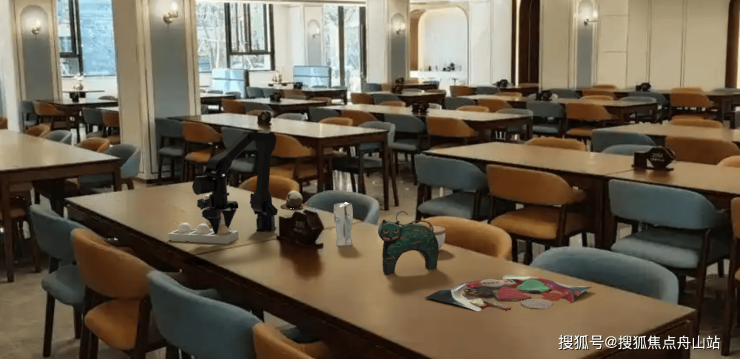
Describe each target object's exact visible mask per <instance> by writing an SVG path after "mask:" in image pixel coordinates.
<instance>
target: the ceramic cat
mask: <svg viewBox="0 0 740 359" xmlns="http://www.w3.org/2000/svg"><path fill="white" fill-rule="evenodd" d="M401 213H403V214H405V215H406V216H408V215H409V213H407V211H405V210H401V211H399V212H397V213H396V217H395V220H396V221H392V220H385V219H383V220H382V221H381V222H380V223H379V225H378V227H377V233H378V234H377V235H378V236H379V238H380V239H381V241H383V244H382V254H381V256H382V272H383V273H384V275H386V276H389V275H394V274H395V271H396V266H397V262H398V260H399V259H400V257H401V256H402V254H403V255H404V253H409V252H411V251H414V252H415V251H416V252H419V253H420V254H422V255H423V256H424V266H425V269H427V271H434V270H437V268H438V260H439V259H438V258H439V251H440V249H439V250H438V248H439V246H438V241H437V239H436V237H435V234H434V233H433V232H434V229H433V226H434V225H432V224H431V223H430V222H429V221H427V220H424V219H417V220H413V221H410V222H409V223H405V224H402V223H400V222H401V221H399V220H398V215H399V214H401ZM417 222H422V223H427V224H428V225H425V224H422V223H417ZM429 225H430V226H431V227H432V229H433V230H431V229H430V228H429V227H427V226H429Z"/></svg>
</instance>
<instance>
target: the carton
mask: <svg viewBox="0 0 740 359" xmlns="http://www.w3.org/2000/svg"><path fill="white" fill-rule="evenodd" d="M210 229H211V227H210V226H208V225H207V223H199V224H198V225H197V226H196V228H192V226H191V224H190V223H188V222H181V223H180V224H179V225H178V226H177V229H175V230H173V231H170V232H169V233H167V236H168V237H167V238H168V240H172V241H171V242H185V241H189V242H188V243H190V242H191V243H204V244H205V243H206V244H207V243H209V244H224V245H225V244H226V245H228V244H230V243H232V242H234V241H236V240H238V239H239V230H231V231H228V234H227V235H226V236H223V235H216V234H214V231H213V230H210Z"/></svg>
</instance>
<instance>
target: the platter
mask: <svg viewBox="0 0 740 359" xmlns="http://www.w3.org/2000/svg"><path fill="white" fill-rule="evenodd" d="M590 289H593V287H592V286H583V285H582V286H581V285H569V284H563V283H560V282H557V281H554V280H550V279H547V278H543V277H536V276H527V275H515V274H514V275H513V274H512V275H511V274H504V275H503V276H502V278H501V279H493V278H486V279H483V280H474V281H466V282H462V283H460V284H458V285H456V286H454V287H451V288H448V289H446V288H445V289H440V290H437V291H435V292H433V293H431V294H429V295H428V296H425V297H424V299H430V300H436V301H439V302H442V303H447V304H448V303H449V304H451V305H457V306H461V307H463V308H464V307H465V308H468V309H471V310H474V311H476V312H480V311H482V310H484V309H486V308H495V309H497V310H502V311H503V310H505V311H504V312H508V311H507V310H511V308H512V307H511V306H510V305H507V304H503V302H507V303H508V302H509V303H510V302H512V303H514V302H515V303H516V302H520V303H519V304H520V306H521V305H522V307H524V308H525V309H528V308H529V309H530V310H546V309H549V308H551V307H552V306H553V305H554V303H553V302H554V301H555V302H556V301H560V300H561V299H562V300H563V299H564V300H565V301H567V302H569V303H570V304H572V303H573V302H574V301H575V300H576V299H577V298H578V297H579V296H581V295H582V294H583V293H584V292H587V291H588V290H590ZM552 291H553V292H552ZM528 294H529V295H528ZM531 295H540V296H542V297H541V298H532V296H531ZM492 298H493V299H494V300H492ZM521 300H522V301H521ZM501 302H502V303H501ZM511 311H512V310H511Z"/></svg>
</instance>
